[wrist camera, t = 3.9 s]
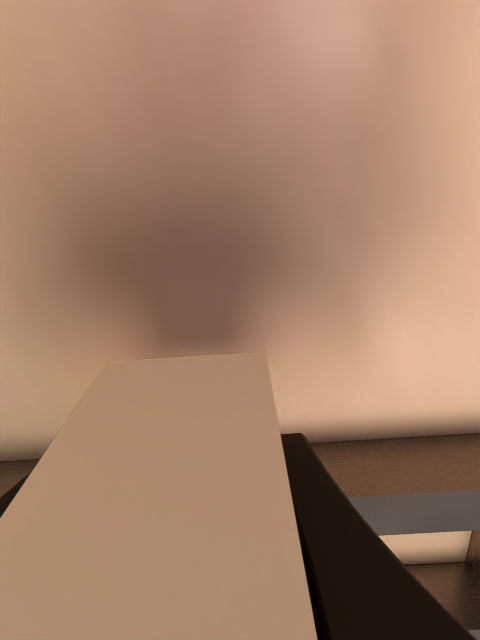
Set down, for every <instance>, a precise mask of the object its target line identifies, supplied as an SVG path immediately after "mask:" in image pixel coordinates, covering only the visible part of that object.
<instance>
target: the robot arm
mask: <svg viewBox="0 0 480 640" xmlns="http://www.w3.org/2000/svg"><path fill="white" fill-rule="evenodd" d="M280 435H281V441H282V446H283V452H284V457H285V463H286V468H287V474H288V479H289V485H290V491H291V496H292V502H293V507H294V513H295V518H296V524H297V529H298V535H299V540H300V546H301V552H302V557H303V563H304V568H305V574H306V579H307V585H308V590H309V596H310V601H311V607H312V613H313V618H314V624H315V629H316V635H317V640H477V639H476V638H475V637H474V636H473V635H472V634H471V633H470V632H469V631H468V630H467V629H466V628H465V627H464V626H462V625H461V624H460V623H459V622H458V621H457V620H456V619H455V618H454V617H453V616H452V615H451V614H450V613H449V612H448V611H447V610H446V609H445V608H444V607H443V606H442V605H441V604H440V603H439V602H438V601H437V600H436V599H435V598H434V597H433V595H432V594H431V593H430V592H429V591H428V590H427V589H426V588H425V587H424V586H423V585H422V584H421V583H420V582H419V581H418V580H417V579H416V578H415V577H414V576H413V575H412V574H411V572H410V571H409V570H408V569H407V568H406V567H405V566H404V565H403V564H402V563H401V561H400V560H399V559H398V558H397V557H396V556H395V555H394V554H393V553H392V551H391V550H390V549H389V548H388V547H387V546H386V544H385V543H384V542H383V541H382V540H381V539H380V538H379V536H378V535H377V534H376V533H375V532H374V531H373V529H372V528H371V527H370V526H369V524H368V523H367V522H366V521H365V520H364V518H363V517H362V516H361V515H360V513H359V512H358V511H357V510H356V508H355V507H354V506H353V504H352V503H351V502H350V501H349V499H348V498H347V497H346V495H345V494H344V493H343V492H342V490H341V489H340V488H339V486H338V485H337V484H336V482H335V481H334V480H333V478H332V477H331V475H330V474H329V472H328V471H327V470H326V468H325V467H324V465H323V464H322V462H321V461H320V459H319V458H318V456H317V455H316V453H315V452H314V450H313V448H312V447H311V445H310V443H309V442H308V440H307V438H306V437H305V436H304V435H303V434H302V433H295V434H280ZM32 471H33V470H32ZM32 471H31V472H32ZM31 472H30V473H29V474H28V475H26V476H25V477H24V478H23V479H22V480H21V481H19V482H18V483H17V484H16V485H15V486H13V487H12V488H11V489H10V490H9V491H8V492H6V493H5V494H4V495H3V496H2V497H0V518H1V517H2V515H3V514H4V512H5V511H6V509H7V508H8V506H9V505H10V503H11V502H12V500H13V499H14V497H15V496H16V494H17V493H18V492H19V490H20V489H21V487H22V486H23V484H24V483H25V481H26V480H27V478H28V477H29V475H30V474H31Z"/></svg>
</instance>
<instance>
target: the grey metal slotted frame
mask: <svg viewBox="0 0 480 640" xmlns="http://www.w3.org/2000/svg"><path fill="white" fill-rule="evenodd" d="M310 445H311V447H312V448H313V450H314V452H315V453H316V455H317V456H318V458H319V459H320V461H321V462H322V464H323V465H324V467H325V468H326V470H327V471H328V472H329V474H330V475H331V477H332V478H333V480H334V481H335V482H336V484H337V485H338V486H339V488H340V489H341V490H342V492H343V493H344V494H345V495H346V497H347V498H348V499H349V501H350V502H351V503H352V504H353V506H354V507H355V508H356V510H357V511H358V512H359V513H360V515H361V516H362V517H363V518H364V520H365V521H366V522H367V523H368V524H369V526H370V527H371V528H372V529H373V531H374V532H375V533H376V534H377V535H378V536H381V535H398V534H416V533H434V532H452V531H469V530H473V532H472V537H471V541H470V546H469V551H468V555H467V560H466V562H465V563H447V564H429V565H411V566H405V567H406V568H407V569H408V570H409V571H410V572H411V574H412V575H413V576H414V577H415V578H416V579H417V580H418V581H419V582H420V583H421V584H422V585H423V586H424V587H425V588H426V589H427V590H428V591H429V592H430V593H431V594H432V595H433V597H434V598H435V599H436V600H437V601H438V602H439V603H440V604H441V605H442V606H443V607H444V608H445V609H446V610H447V611H448V612H449V613H450V614H451V615H452V616H453V617H454V618H455V619H456V620H457V621H458V622H459V623H460V624H461V625H462V626H464V627H465V628H466V629H467V630H468V631H469V632H470V633H471V634H472V635H473V636H474V637H475V638H476V639H477V640H480V434H468V435H451V436H434V437H417V438H399V439H382V440H365V441H348V442H331V443H314V444H310ZM39 461H40V460H24V461H7V462H0V497H2V496H3V495H4V494H5V493H6V492H8V491H9V490H10V489H11V488H12V487H13V486H15V485H16V484H17V483H18V482H19V481H21V480H22V479H23V478H24V477H25V476H26V475H28V474H29V473H30V472H31V471H32V470H33V469H34V468H35V466H36V465H37V464H38V462H39Z"/></svg>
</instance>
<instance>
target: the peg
mask: <svg viewBox="0 0 480 640" xmlns="http://www.w3.org/2000/svg"><path fill="white" fill-rule="evenodd" d="M0 640H317V635H316V629H315V624H314V618H313V613H312V607H311V601H310V596H309V590H308V585H307V579H306V574H305V568H304V563H303V557H302V552H301V546H300V540H299V535H298V529H297V524H296V518H295V513H294V507H293V502H292V496H291V491H290V485H289V479H288V474H287V468H286V463H285V457H284V452H283V446H282V441H281V435H280V430H279V424H278V418H277V413H276V407H275V402H274V396H273V391H272V385H271V380H270V374H269V369H268V363H267V357H266V352H251V353H235V354H219V355H203V356H187V357H171V358H155V359H138V360H122V361H107V362H106V363H105V365H104V366H103V368H102V369H101V371H100V372H99V374H98V375H97V377H96V378H95V380H94V381H93V383H92V384H91V386H90V387H89V388H88V390H87V391H86V393H85V394H84V396H83V397H82V399H81V400H80V402H79V403H78V405H77V406H76V408H75V409H74V411H73V412H72V413H71V415H70V416H69V418H68V419H67V421H66V422H65V424H64V425H63V427H62V428H61V430H60V431H59V433H58V434H57V436H56V437H55V439H54V440H53V441H52V443H51V444H50V446H49V447H48V449H47V450H46V452H45V453H44V455H43V456H42V458H41V459H40V461H39V462H38V464H37V465H36V466H35V468H34V469H33V471H32V472H31V474H30V475H29V477H28V478H27V480H26V481H25V483H24V484H23V486H22V487H21V489H20V490H19V492H18V493H17V494H16V496H15V497H14V499H13V500H12V502H11V503H10V505H9V506H8V508H7V509H6V511H5V512H4V514H3V515H2V517H1V518H0Z"/></svg>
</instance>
